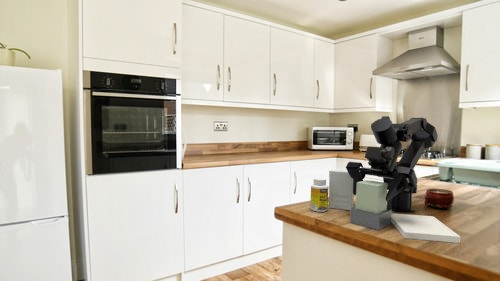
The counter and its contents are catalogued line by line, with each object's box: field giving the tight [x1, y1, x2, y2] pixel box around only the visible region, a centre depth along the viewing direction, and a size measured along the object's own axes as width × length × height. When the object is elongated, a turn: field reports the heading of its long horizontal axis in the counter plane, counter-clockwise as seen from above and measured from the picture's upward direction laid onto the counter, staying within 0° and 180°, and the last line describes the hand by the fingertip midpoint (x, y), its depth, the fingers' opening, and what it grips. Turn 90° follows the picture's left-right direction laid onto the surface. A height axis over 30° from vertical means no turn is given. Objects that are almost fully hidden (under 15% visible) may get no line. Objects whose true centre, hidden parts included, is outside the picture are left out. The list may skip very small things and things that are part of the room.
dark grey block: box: [350, 206, 393, 231], centre depth 81 cm, size 8×8×6 cm
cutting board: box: [391, 212, 461, 244], centre depth 77 cm, size 16×12×2 cm
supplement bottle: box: [310, 177, 329, 213], centre depth 94 cm, size 6×6×10 cm
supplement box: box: [328, 167, 355, 211], centre depth 98 cm, size 7×7×13 cm
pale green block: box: [355, 179, 388, 214], centre depth 81 cm, size 6×6×8 cm
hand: (369, 197), depth 80 cm, fingers open, 9 cm apart
